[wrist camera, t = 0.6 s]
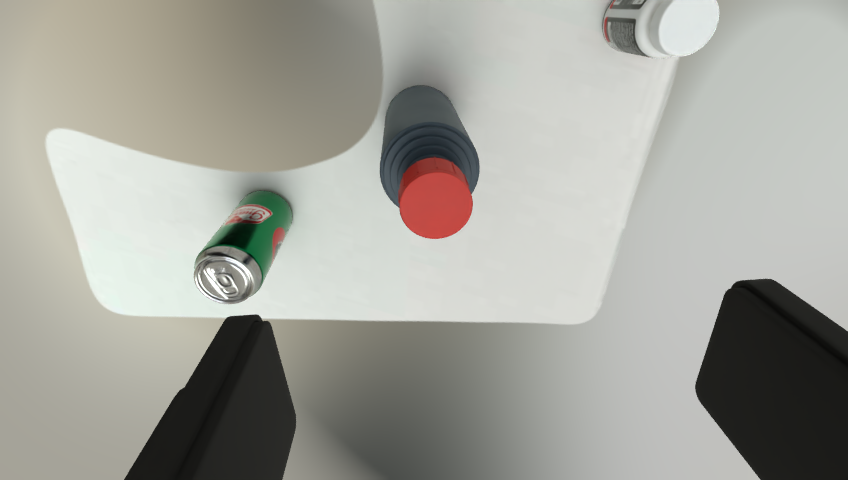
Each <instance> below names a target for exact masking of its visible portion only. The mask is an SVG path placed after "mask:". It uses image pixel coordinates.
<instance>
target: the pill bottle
mask: <svg viewBox="0 0 848 480" xmlns="http://www.w3.org/2000/svg"><path fill="white" fill-rule="evenodd" d="M718 21H719V6H718V3H717V0H613V2H612V3H611V4H610V6H609V7H608V9H607V11H606V14H605V16H604V21H603V33H604V37H605V39H606V41H607V43H608V44H609V45H610V46H611V47H612V48H614V49H615V50H618V51H621V52H626V53H631V54H636V55H641V56H646V57H651V58H656V59H665V58H670V57H673V56H686V55H689V54H692V53H694V52H696V51H697V50H699V49H701V48H702V47H703V46H704V45H705V44H706V43H707V42H708V41H709V39H710V38H711V37H712V35H713V33H714V32H715V30H716V27H717V24H718Z"/></svg>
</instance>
